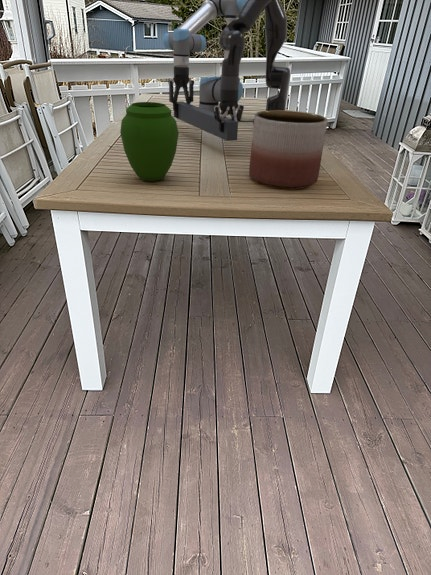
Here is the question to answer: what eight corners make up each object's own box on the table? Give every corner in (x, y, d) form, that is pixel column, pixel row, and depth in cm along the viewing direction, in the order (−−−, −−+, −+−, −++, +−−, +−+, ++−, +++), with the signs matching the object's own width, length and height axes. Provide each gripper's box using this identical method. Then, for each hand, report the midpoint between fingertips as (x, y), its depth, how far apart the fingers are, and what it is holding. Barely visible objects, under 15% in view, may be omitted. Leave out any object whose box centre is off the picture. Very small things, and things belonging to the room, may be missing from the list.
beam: (173, 117, 214) (173, 101, 210) (182, 116, 216) (182, 101, 212) (226, 141, 172) (227, 122, 168) (237, 140, 174) (238, 121, 170)
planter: (327, 190, 144) (341, 124, 132) (258, 191, 139) (265, 122, 128) (303, 169, 165) (312, 110, 153) (241, 169, 161) (246, 109, 149)
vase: (131, 189, 135) (125, 110, 122) (118, 172, 150) (112, 100, 137) (186, 184, 142) (187, 109, 129) (169, 168, 157) (167, 99, 144)
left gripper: (167, 66, 192) (168, 119, 205) (201, 67, 200) (200, 117, 213) (161, 65, 198) (162, 116, 210) (194, 65, 206) (193, 115, 218)
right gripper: (218, 89, 160) (216, 134, 169) (249, 88, 166) (246, 132, 175) (209, 87, 166) (208, 131, 175) (239, 86, 172) (237, 128, 181)
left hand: (181, 117), depth 211 cm, fingers closed on beam, 5 cm apart
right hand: (227, 131), depth 175 cm, fingers closed on beam, 5 cm apart
